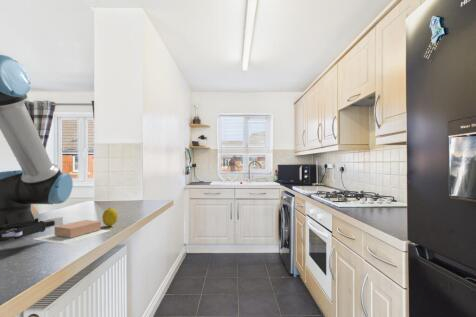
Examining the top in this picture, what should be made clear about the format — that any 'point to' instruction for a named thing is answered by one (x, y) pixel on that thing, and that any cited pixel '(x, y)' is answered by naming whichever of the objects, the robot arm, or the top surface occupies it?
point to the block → (77, 228)
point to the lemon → (109, 217)
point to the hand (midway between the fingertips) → (61, 220)
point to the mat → (68, 240)
